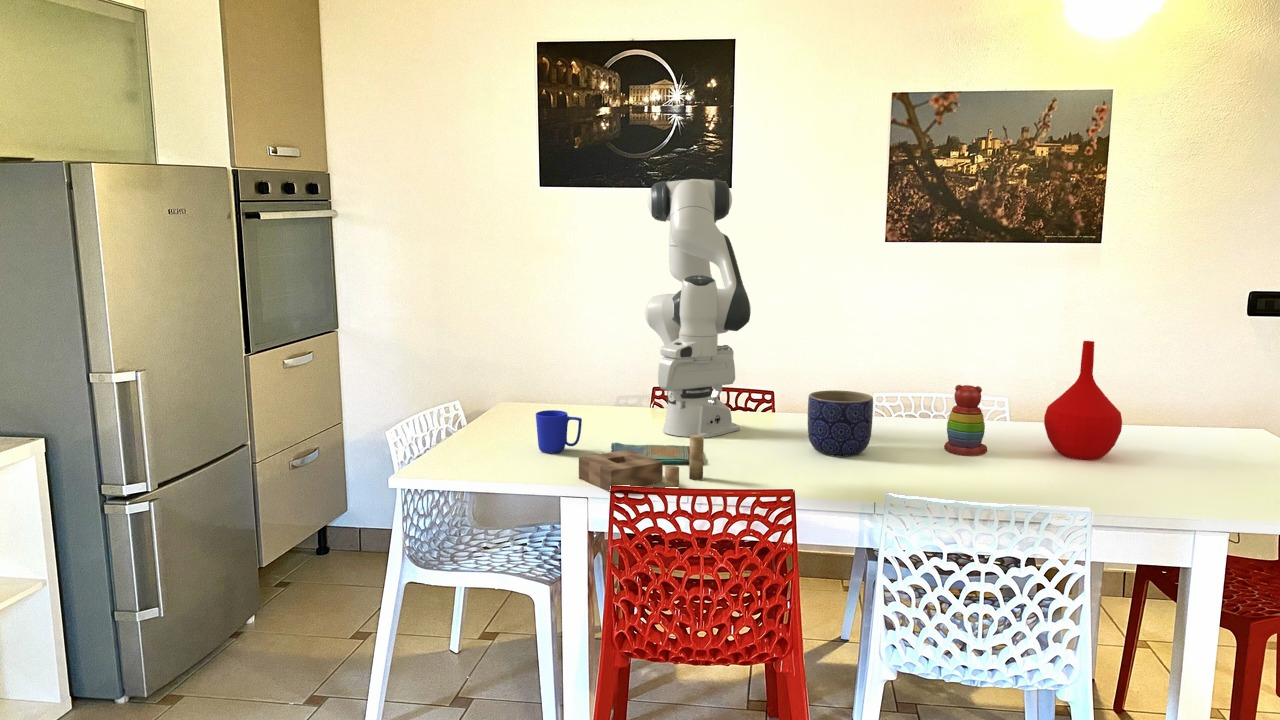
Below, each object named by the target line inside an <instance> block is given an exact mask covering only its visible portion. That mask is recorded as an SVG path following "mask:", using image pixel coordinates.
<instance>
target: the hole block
mask: <svg viewBox="0 0 1280 720" xmlns="http://www.w3.org/2000/svg"><path fill="white" fill-rule="evenodd" d="M663 467H664V465H663V462H661V461H659V460H656V459H653V458H650V457H648V456H645V455H642V454H640V453H637V452H634V451H631V450H623V451H616V452H611V451H610V452H606V453H599V454H598V453H597V454H592V455H586V456H579V457H578V479H579V480H582V481H584V482H586V483H588V484H591V485H593V486H595V487H598V488H600V489H602V490H604V491H607V492H609V490H610V486H612V485H630V486H644V487H649V486H654V485H660V484H663V477H664V476H663V469H664V468H663Z"/></svg>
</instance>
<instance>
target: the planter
mask: <svg viewBox="0 0 1280 720" xmlns="http://www.w3.org/2000/svg"><path fill="white" fill-rule="evenodd" d="M873 413H874V398H873V396H872V395H870V394H868V393H863V392H858V391H849V390H835V389H834V390H832V389H831V390H818V391H813V392H811V393H809V394H808V402H807V437H808V440H809V442H810V444H811V446H812V447H813V448H814V450H816V452H819V453H821V454H822V455H826V454H827V455H826V456H831V455H833V456H834V457H853V455H854V456H857V455H859V454H861V453H863V452H864V451H865V450H866V449H867V447H868V446H869V444H870V441H871V437H872V430H873V429H872V428H873V416H874V415H873ZM833 456H832V457H833Z"/></svg>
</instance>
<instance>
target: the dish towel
mask: <svg viewBox="0 0 1280 720" xmlns="http://www.w3.org/2000/svg"><path fill="white" fill-rule="evenodd" d="M611 449H612V450H611ZM623 450H631V451H634V452H637V453H640V454H642V455H645V456H648V457H650V458H653V459H656V460H659V461H661V462H663V466H664V465H666V466H678V465H679V466H685V465H686V466H689V464H690V445H677V444H676V445H674V444H673V445H672V444H668V445H667V444H666V445H663V444H636V445H635V444H628V443H627V444H625V443H620V442H611V445H610V452H616V451H623ZM703 465H704V462H703Z"/></svg>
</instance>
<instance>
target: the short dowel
mask: <svg viewBox="0 0 1280 720" xmlns="http://www.w3.org/2000/svg"><path fill="white" fill-rule="evenodd" d="M665 487H679V488H680V466H678V465H666V466H664V488H665Z"/></svg>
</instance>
